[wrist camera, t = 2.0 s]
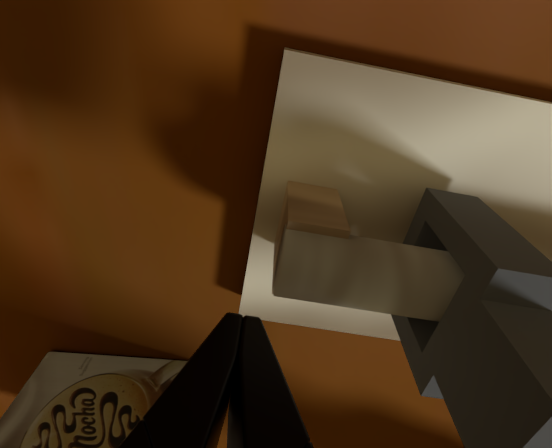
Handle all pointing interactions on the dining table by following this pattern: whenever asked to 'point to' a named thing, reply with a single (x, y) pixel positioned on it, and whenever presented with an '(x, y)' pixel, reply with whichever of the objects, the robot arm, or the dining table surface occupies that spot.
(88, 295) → the dining table surface
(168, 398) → the robot arm
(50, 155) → the dining table surface
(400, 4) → the dining table surface
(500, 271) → the dark angular block
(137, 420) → the coffee box
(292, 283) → the pipe stand
